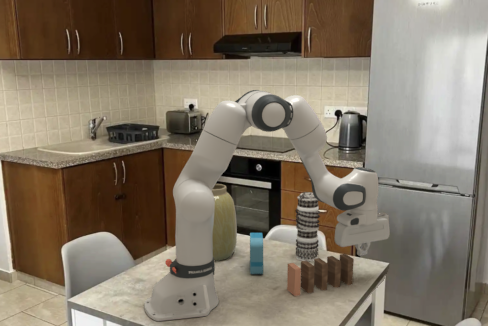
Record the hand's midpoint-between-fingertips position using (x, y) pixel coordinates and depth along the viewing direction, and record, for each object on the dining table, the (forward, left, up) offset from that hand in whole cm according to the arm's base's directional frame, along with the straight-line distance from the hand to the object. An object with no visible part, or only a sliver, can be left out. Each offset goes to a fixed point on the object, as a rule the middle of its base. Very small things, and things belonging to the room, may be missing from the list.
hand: (362, 254), depth 167 cm
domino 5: (-6, 0, -9) cm, 11 cm away
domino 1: (-26, 0, -9) cm, 28 cm away
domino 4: (-11, 0, -9) cm, 14 cm away
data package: (-29, +22, -9) cm, 38 cm away
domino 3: (-16, 0, -9) cm, 18 cm away
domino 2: (-21, 0, -9) cm, 23 cm away
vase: (-38, +41, -9) cm, 57 cm away
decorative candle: (-7, +24, -9) cm, 27 cm away
